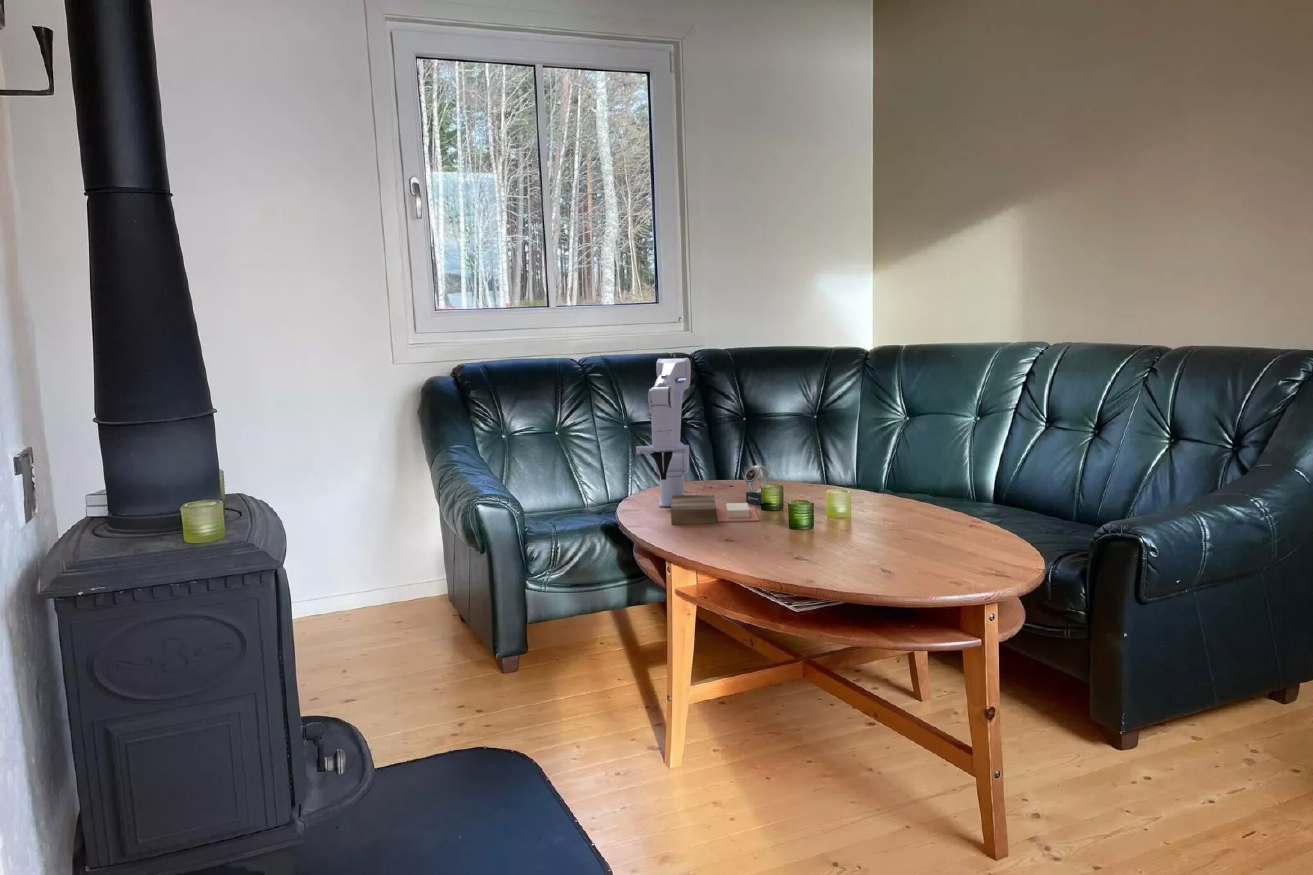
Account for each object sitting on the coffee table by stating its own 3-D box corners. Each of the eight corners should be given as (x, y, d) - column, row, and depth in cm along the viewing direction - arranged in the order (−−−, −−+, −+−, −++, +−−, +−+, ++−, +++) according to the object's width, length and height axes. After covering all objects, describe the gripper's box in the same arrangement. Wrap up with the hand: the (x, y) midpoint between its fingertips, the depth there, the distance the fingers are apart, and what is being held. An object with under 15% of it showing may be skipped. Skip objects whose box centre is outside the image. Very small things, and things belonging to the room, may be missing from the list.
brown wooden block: (672, 509, 242) (672, 495, 241) (714, 508, 242) (714, 494, 241) (671, 524, 224) (670, 509, 224) (716, 523, 224) (716, 508, 223)
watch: (741, 503, 246) (740, 466, 245) (760, 499, 252) (759, 463, 250) (756, 506, 242) (755, 468, 241) (774, 501, 247) (773, 465, 246)
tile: (747, 502, 236) (747, 509, 236) (725, 503, 237) (726, 510, 237) (749, 509, 227) (749, 517, 228) (727, 510, 228) (727, 517, 228)
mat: (715, 509, 241) (715, 507, 240) (754, 508, 240) (754, 506, 240) (717, 522, 225) (717, 520, 225) (758, 521, 224) (758, 519, 224)
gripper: (634, 432, 227) (636, 482, 229) (688, 431, 227) (689, 481, 228) (636, 429, 234) (638, 477, 236) (688, 428, 234) (689, 476, 235)
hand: (663, 479), depth 233 cm, fingers closed
